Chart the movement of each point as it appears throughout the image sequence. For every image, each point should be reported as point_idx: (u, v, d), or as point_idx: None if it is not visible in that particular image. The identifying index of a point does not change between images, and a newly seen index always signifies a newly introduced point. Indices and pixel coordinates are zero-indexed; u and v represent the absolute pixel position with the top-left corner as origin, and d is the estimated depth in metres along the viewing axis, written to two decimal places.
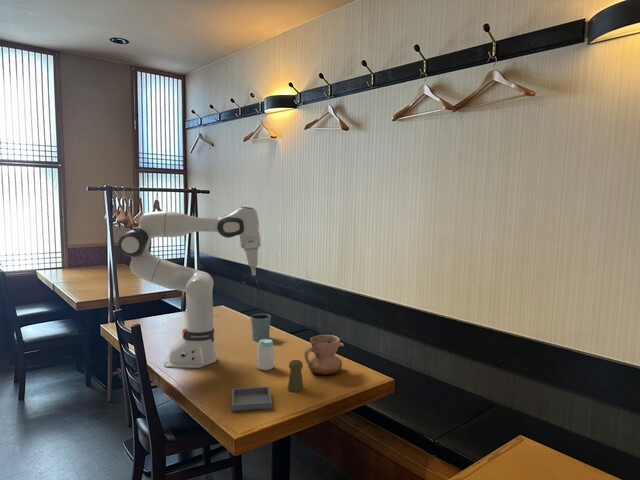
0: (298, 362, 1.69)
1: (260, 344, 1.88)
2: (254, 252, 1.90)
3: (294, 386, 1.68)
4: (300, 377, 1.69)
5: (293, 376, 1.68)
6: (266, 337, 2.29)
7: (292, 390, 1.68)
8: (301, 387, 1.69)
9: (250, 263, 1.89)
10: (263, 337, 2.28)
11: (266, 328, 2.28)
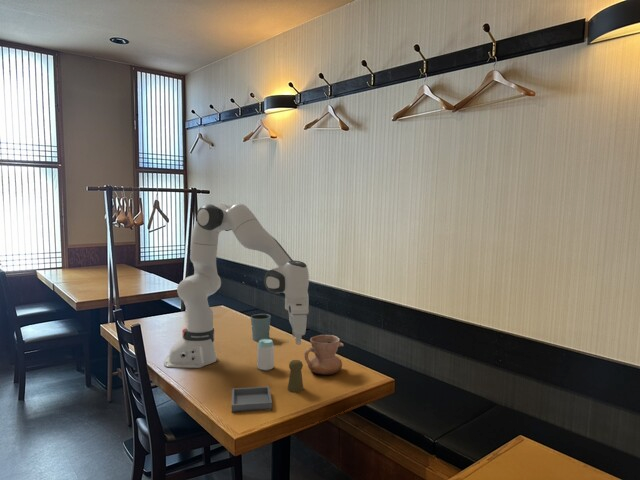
0: (298, 362, 1.69)
1: (260, 344, 1.88)
2: (303, 319, 1.59)
3: (294, 386, 1.68)
4: (300, 377, 1.69)
5: (293, 376, 1.68)
6: (266, 337, 2.29)
7: (292, 390, 1.68)
8: (301, 387, 1.69)
9: (297, 332, 1.58)
10: (263, 337, 2.28)
11: (266, 328, 2.28)
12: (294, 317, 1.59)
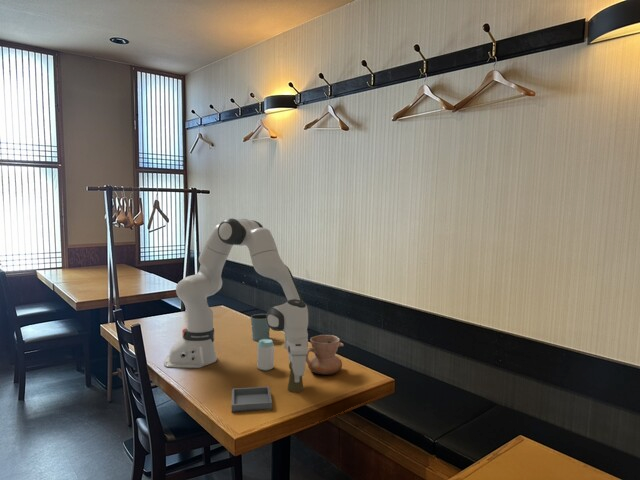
0: None
1: (260, 344, 1.88)
2: (302, 360, 1.60)
3: (294, 385, 1.68)
4: (300, 377, 1.69)
5: (293, 376, 1.68)
6: (266, 337, 2.29)
7: (292, 390, 1.68)
8: (301, 387, 1.69)
9: (296, 373, 1.60)
10: (263, 337, 2.28)
11: (266, 328, 2.28)
12: (293, 358, 1.60)
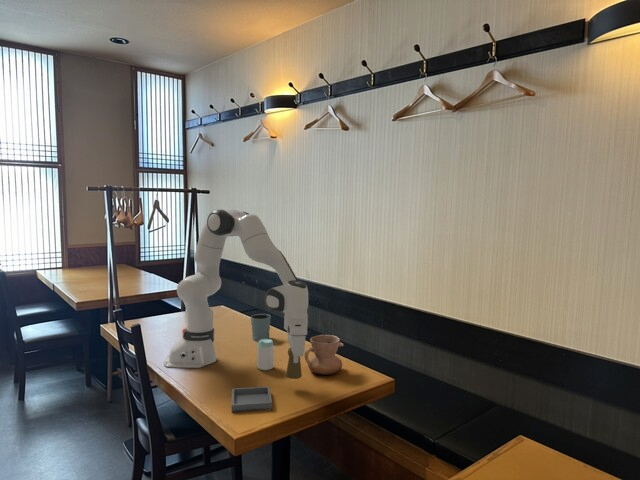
0: None
1: (260, 344, 1.88)
2: (302, 340, 1.60)
3: (292, 372, 1.67)
4: (298, 364, 1.68)
5: (291, 363, 1.68)
6: (266, 337, 2.29)
7: (290, 377, 1.68)
8: (299, 374, 1.68)
9: (295, 353, 1.59)
10: (263, 337, 2.28)
11: (266, 328, 2.28)
12: (293, 338, 1.59)
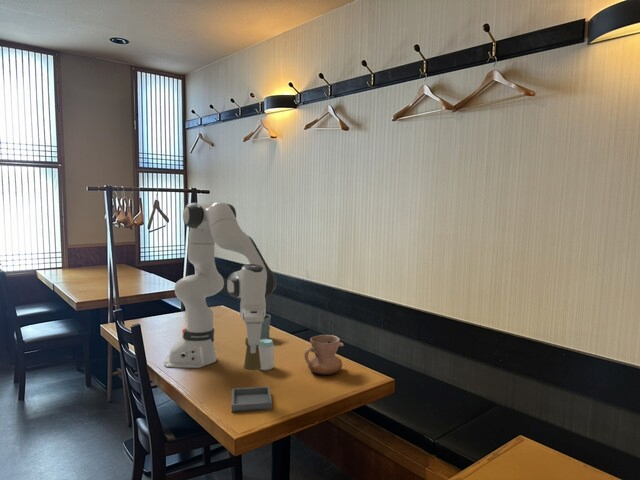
0: None
1: (260, 344, 1.88)
2: (257, 328, 1.47)
3: (250, 363, 1.55)
4: (257, 354, 1.56)
5: (249, 353, 1.55)
6: (266, 337, 2.29)
7: (248, 368, 1.55)
8: (258, 365, 1.56)
9: (250, 341, 1.47)
10: (263, 337, 2.28)
11: (266, 328, 2.28)
12: (247, 326, 1.47)
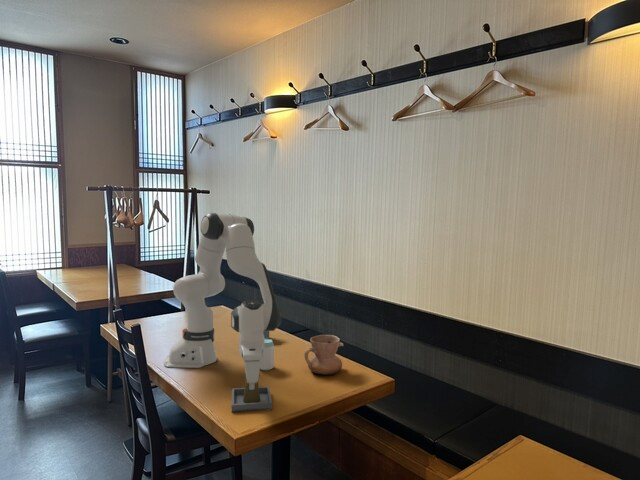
0: None
1: None
2: (256, 366, 1.48)
3: (249, 397, 1.56)
4: (256, 388, 1.57)
5: (248, 387, 1.56)
6: (266, 337, 2.29)
7: (247, 402, 1.56)
8: (257, 399, 1.57)
9: (249, 380, 1.48)
10: None
11: None
12: (246, 364, 1.48)
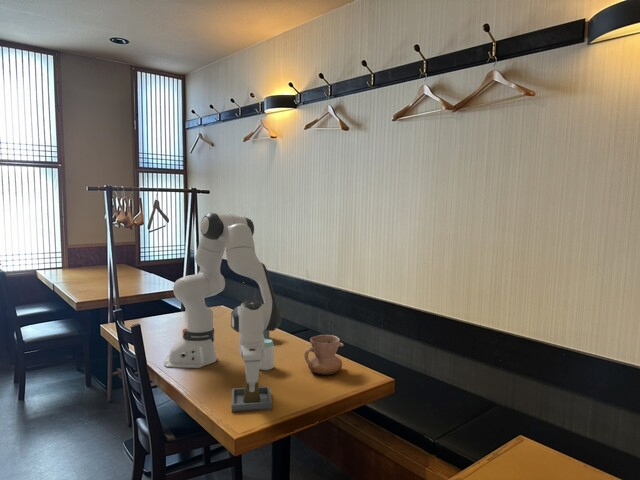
0: None
1: None
2: (256, 366, 1.48)
3: (249, 397, 1.56)
4: (256, 388, 1.57)
5: (248, 387, 1.56)
6: (266, 337, 2.29)
7: (247, 402, 1.56)
8: (257, 399, 1.57)
9: (249, 380, 1.48)
10: None
11: None
12: (246, 364, 1.48)
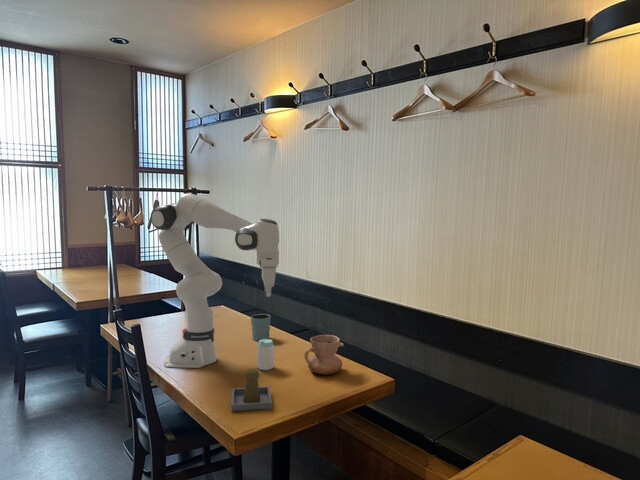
0: (254, 372, 1.57)
1: (260, 344, 1.88)
2: (272, 271, 1.70)
3: (249, 397, 1.56)
4: (256, 388, 1.57)
5: (248, 387, 1.56)
6: (266, 337, 2.29)
7: (247, 402, 1.56)
8: (257, 399, 1.57)
9: (266, 283, 1.69)
10: (263, 337, 2.28)
11: (266, 328, 2.28)
12: (264, 269, 1.69)
